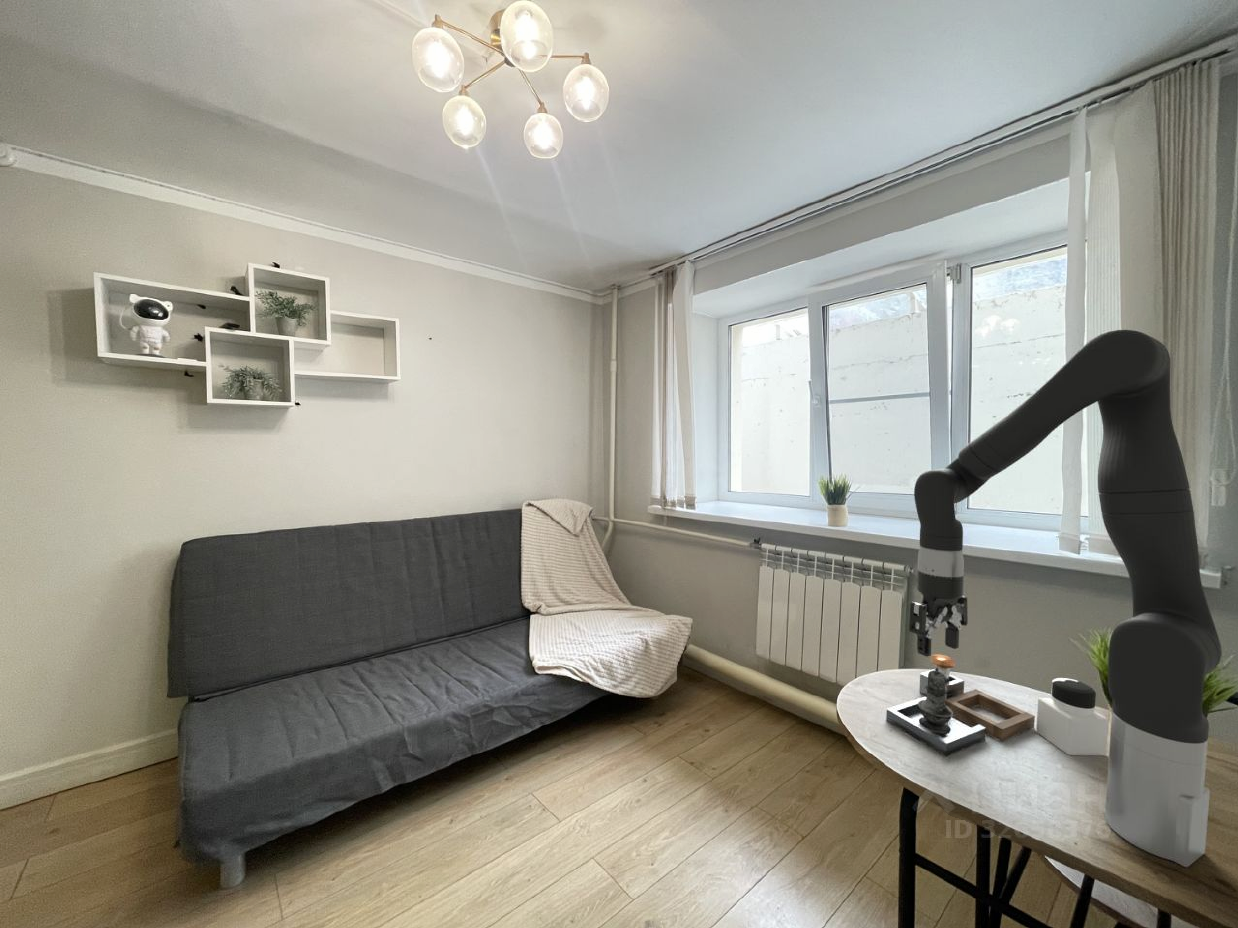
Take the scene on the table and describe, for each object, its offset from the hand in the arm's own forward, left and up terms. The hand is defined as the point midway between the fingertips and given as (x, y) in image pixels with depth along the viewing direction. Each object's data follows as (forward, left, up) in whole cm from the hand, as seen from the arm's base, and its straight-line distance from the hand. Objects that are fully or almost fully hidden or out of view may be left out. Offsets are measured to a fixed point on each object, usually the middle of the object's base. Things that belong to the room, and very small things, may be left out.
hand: (938, 650), depth 94 cm
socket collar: (-2, -14, -16) cm, 22 cm away
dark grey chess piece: (0, 0, -16) cm, 16 cm away
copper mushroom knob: (+8, -14, -15) cm, 22 cm away
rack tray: (0, 0, -16) cm, 16 cm away
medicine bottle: (-13, -20, -17) cm, 29 cm away
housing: (+8, -14, -16) cm, 23 cm away
